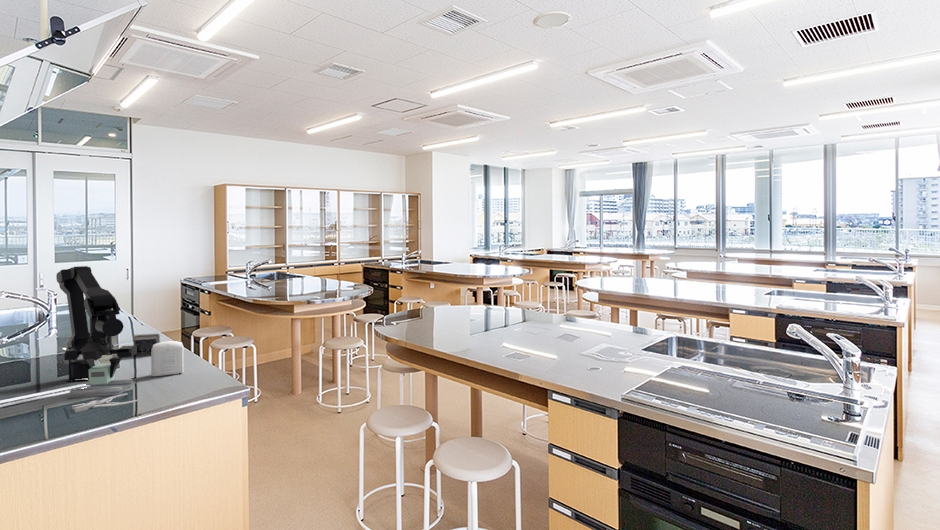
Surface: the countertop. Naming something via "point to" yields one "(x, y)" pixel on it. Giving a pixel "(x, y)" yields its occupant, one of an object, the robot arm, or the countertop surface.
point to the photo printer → (167, 358)
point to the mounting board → (102, 389)
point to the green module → (100, 374)
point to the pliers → (95, 403)
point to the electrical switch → (145, 343)
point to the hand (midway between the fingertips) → (102, 377)
